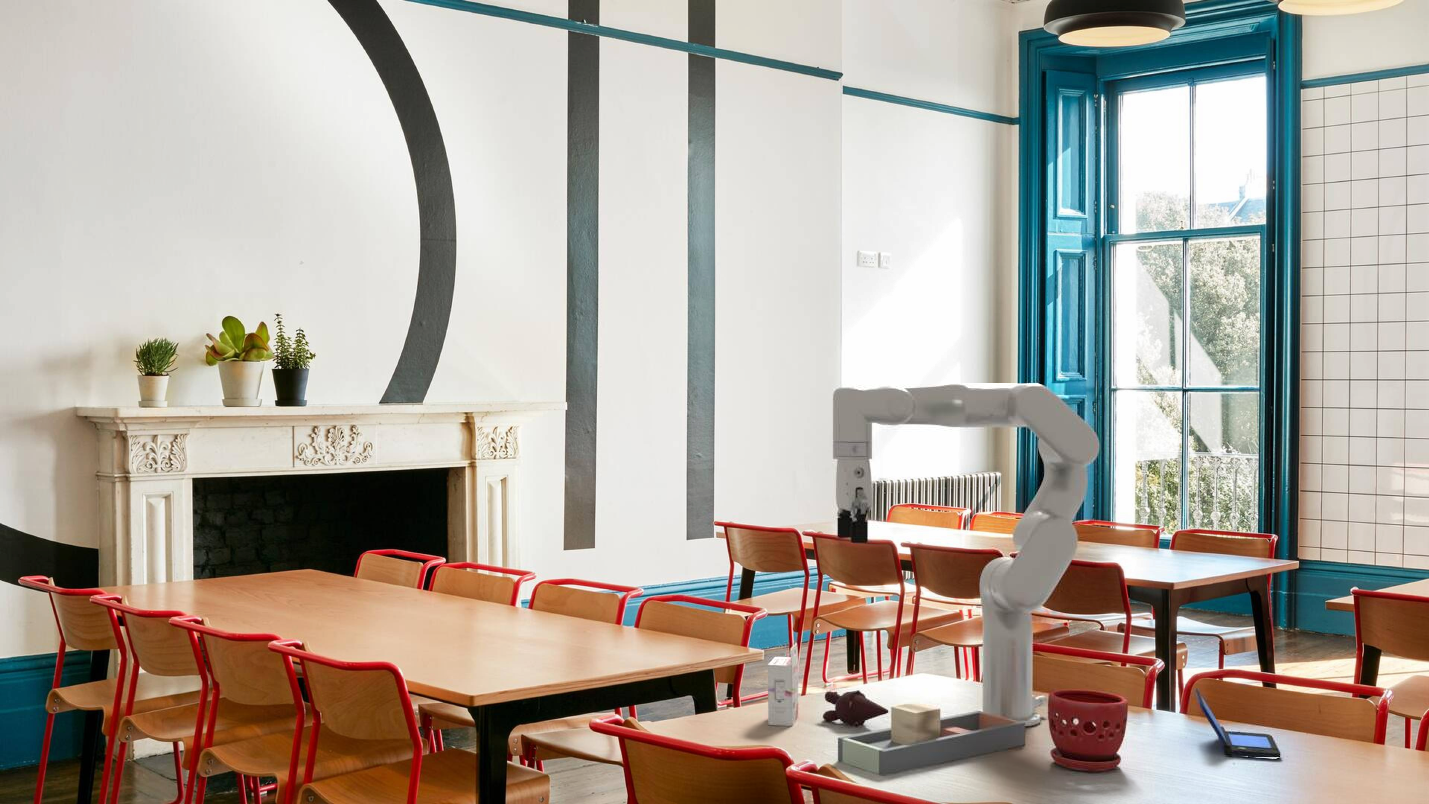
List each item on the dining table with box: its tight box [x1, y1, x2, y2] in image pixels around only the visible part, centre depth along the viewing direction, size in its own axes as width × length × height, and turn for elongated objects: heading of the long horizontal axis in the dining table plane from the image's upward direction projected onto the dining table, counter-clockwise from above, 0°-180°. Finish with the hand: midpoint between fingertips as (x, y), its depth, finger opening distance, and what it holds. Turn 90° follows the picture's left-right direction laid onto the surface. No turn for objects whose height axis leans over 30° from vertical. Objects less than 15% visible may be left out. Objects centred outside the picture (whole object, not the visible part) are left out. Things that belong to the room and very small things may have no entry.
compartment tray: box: [837, 710, 1026, 777], centre depth 235 cm, size 35×11×4 cm, turn 126°
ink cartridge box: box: [767, 642, 799, 727], centre depth 258 cm, size 9×5×15 cm, turn 168°
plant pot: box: [1047, 688, 1129, 772], centre depth 227 cm, size 13×13×12 cm
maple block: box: [890, 702, 941, 745], centre depth 232 cm, size 6×6×6 cm
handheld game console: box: [1194, 688, 1281, 758], centre depth 239 cm, size 16×13×9 cm
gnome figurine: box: [822, 689, 889, 728], centre depth 255 cm, size 7×7×15 cm
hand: (852, 540), depth 256 cm, fingers open, 9 cm apart
